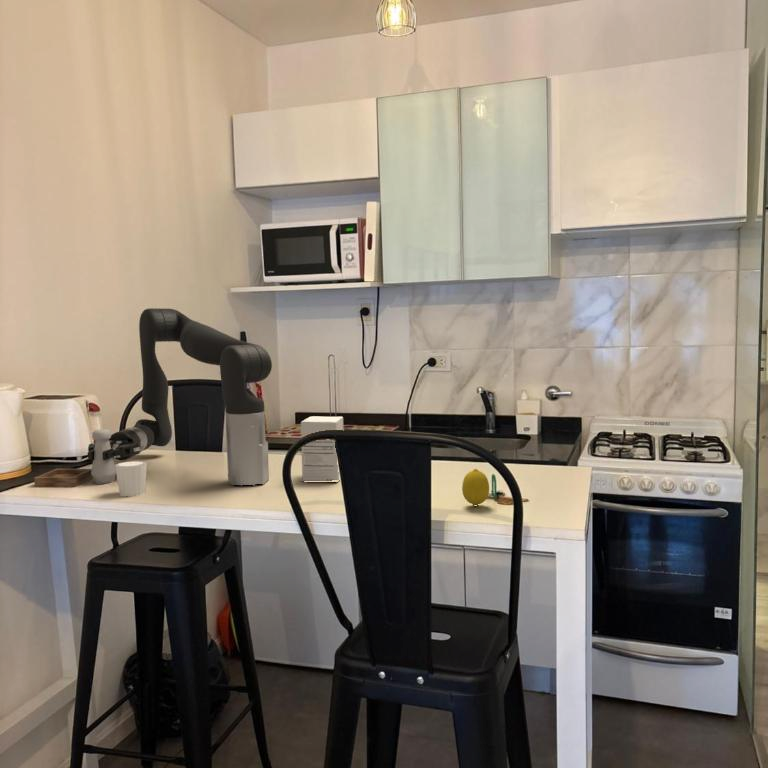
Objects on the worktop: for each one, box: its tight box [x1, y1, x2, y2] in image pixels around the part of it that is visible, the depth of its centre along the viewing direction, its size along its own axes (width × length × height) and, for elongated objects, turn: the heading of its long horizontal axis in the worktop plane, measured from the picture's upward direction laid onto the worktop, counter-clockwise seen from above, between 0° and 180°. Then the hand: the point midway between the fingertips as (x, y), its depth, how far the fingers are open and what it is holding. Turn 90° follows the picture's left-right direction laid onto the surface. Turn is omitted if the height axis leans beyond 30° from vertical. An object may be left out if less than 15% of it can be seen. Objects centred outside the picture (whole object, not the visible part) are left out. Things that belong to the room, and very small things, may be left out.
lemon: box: [461, 468, 490, 506], centre depth 151 cm, size 6×6×8 cm
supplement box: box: [300, 415, 344, 482], centre depth 178 cm, size 9×9×15 cm
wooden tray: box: [33, 468, 93, 488], centre depth 180 cm, size 10×10×2 cm
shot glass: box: [115, 460, 147, 497], centre depth 167 cm, size 7×7×7 cm
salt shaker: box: [91, 428, 117, 485], centre depth 179 cm, size 6×6×13 cm
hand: (97, 456), depth 176 cm, fingers closed on salt shaker, 3 cm apart
